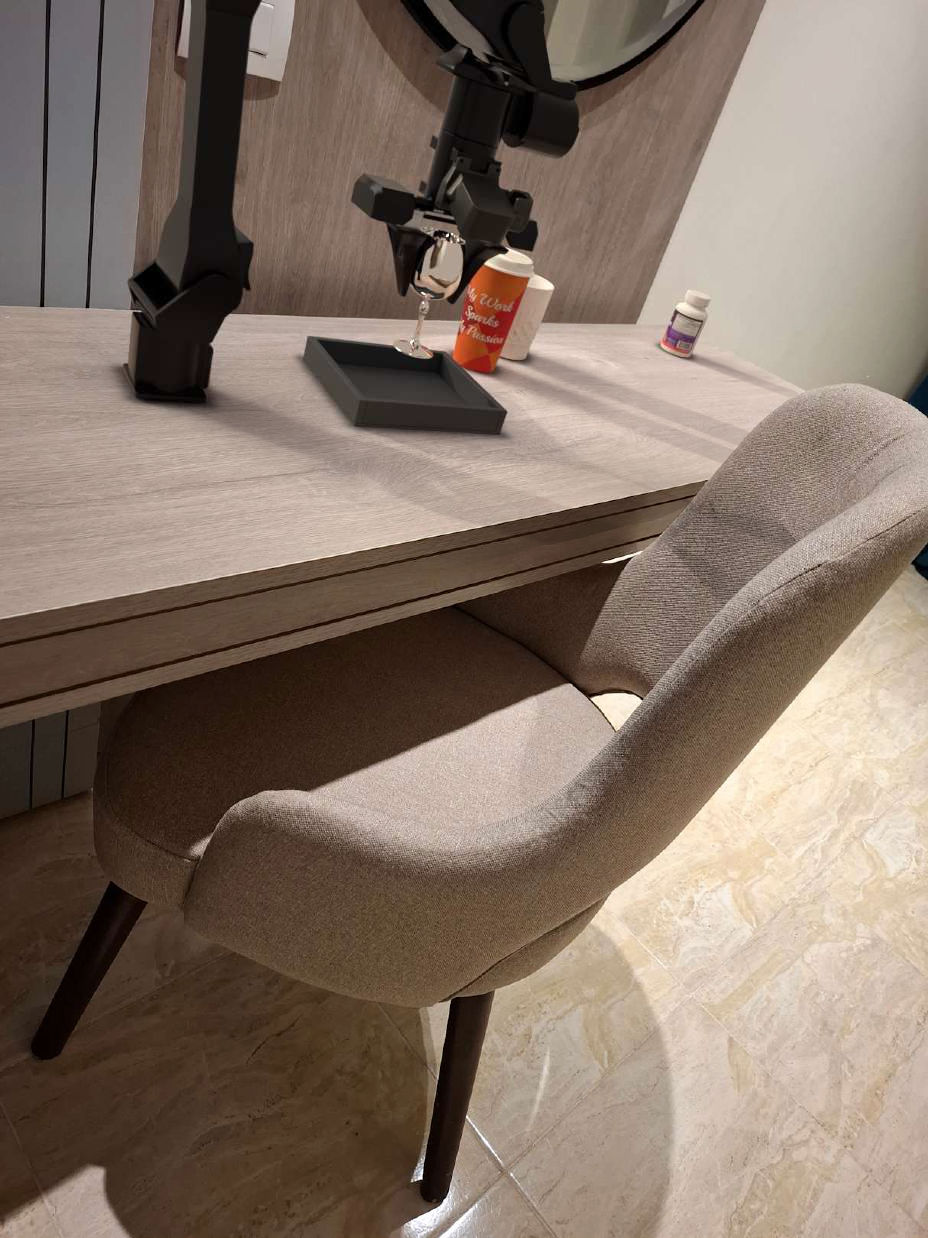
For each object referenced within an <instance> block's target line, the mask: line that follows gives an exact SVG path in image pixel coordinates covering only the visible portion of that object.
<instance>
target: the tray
mask: <svg viewBox="0 0 928 1238" xmlns="http://www.w3.org/2000/svg"><path fill="white" fill-rule="evenodd" d="M430 350H431V351H432V353H433V357H432V358H429V359H422V358H416V357H412V356H409V355H406V354H404V353H402V352H400V351H398V350H397V349H396V348H395V347H394V346H393V344H385V343H375V342H368V341H367V342H366V341H358V340H351V339H350V340H349V339H340V338H333V337H323V336H313V335H307V337H306V342H305V347H304V352H303V357H302V361H303V362H304V363H305V365H306V366H307V367H308V368H309V369H310V371H311V373H313V374H314V376H315V378H316V379H317V380H318V381H319V382H320V384H321V385H322V386H323V388H324V389H325V390H326V391H327V393H328V394H329V396H330V397H331V398H332V400H333V401H334V402H335V403H336V404H337V406H338V407H339V408H340V410H341V411H342V412H343V413H344V414H345V416H346V417H347V419H348V420H349V421H350V422H351V424H352V425H353V426H354V427H369V428H370V427H372V428H384V429H385V428H387V429H389V428H390V429H402V430H403V429H404V430H418V431H419V430H420V431H434V432H435V431H436V432H453V433H467V434H468V433H470V434H485V435H501V433H502V429H503V427H504V424H505V421H506V417H507V415H508V410H507V409H506V408H505V407H504V406H503V405H502V404H501V403H500V402H499V401H497V399H496V398H495V397H494V396H492V394H491V393H489V392H488V390H486V388H484V387H483V385H481V384H480V383H479V382H478V381H477V380H476V379H475V378H474V377H473V376H472V375H471V374H470V373H469V372H467V370H465V368H464V367H463V366H461V365H459V364H458V363H457V362H456V361H455V360H454V359H453V356H451V355H450V354H449V353H448V352H447V351H445V350H437V349H430Z"/></svg>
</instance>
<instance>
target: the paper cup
mask: <svg viewBox="0 0 928 1238" xmlns="http://www.w3.org/2000/svg"><path fill="white" fill-rule="evenodd" d="M506 248H507V249H508V250H509V252H508V253H507V254H505V255H504V254H499V255H497V256H495V257H493V258H491V259H489V260H488V261H486V262H485V264H484V265H483V266H482V267H481V268H480V269H479V270H478V272H477V273H476V274H475V276H474V277H473V278H472V280H471V281H470V283H469V284H468V285H467V291H466V295H465V298H464V304H463V308H462V312H461V318H460V322H459V325H458V331H457V334H456V339H455V344H454V348H453V352H452V358H453V359H454V360H455V361H456V362H457V363H458V364H459V365H460V366H461V367H462V368H464V369H467V370H469V371H473V372H477V373H482V374H489V373H492V372H494V370H495V368H496V366H497V363H498V361H499V359H500V354H501V351H502V349H503V346H504V344H505V341H506V339H507V336H508V333H509V331H510V328H511V326H512V323H513V321H514V318H515V315H516V313H517V310H518V308H519V305H520V302H521V300H522V297H523V295H524V292H525V289H526V287H527V284H528V282H529V279H530V277H534V276H535V275H536V273H535V272H534V269H535V266H534V265H533V264H534V261H533V259H531V258H530V257H529V256H527V255H525V254H524V253H521V252H519V251H517V250H514V249H513V248H509V247H506Z"/></svg>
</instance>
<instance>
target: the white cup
mask: <svg viewBox="0 0 928 1238" xmlns="http://www.w3.org/2000/svg"><path fill="white" fill-rule="evenodd" d="M554 291H555V286H554V284H553V283H552V282H551V281H549V280H547V279H546V278H544V277H542V276H540V275H538V274H535V276H534V277H530V279H529V282H528V284H527V287H526V289H525V292H524V295H523V297H522V300H521V302H520V305H519V308H518V310H517V313H516V315H515V318H514V321H513V323H512V326H511V328H510V331H509V333H508V336H507V339H506V341H505V344H504V346H503V349H502V351H501V354H500V356H499V358H504V359H508V360H512V361H522V360H523V361H524V360H526V358H527V356H528V353H529V352H530V349H531V346H532V344H533V341H535V339H536V336H537V334H538V331H539V329H540V326H541V323H542V321H543V319H544V316H545V314H546V311H547V309H548V306H549V303H550V301H551V299H552V296H553V293H554Z"/></svg>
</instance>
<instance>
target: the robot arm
mask: <svg viewBox="0 0 928 1238" xmlns="http://www.w3.org/2000/svg"><path fill="white" fill-rule="evenodd" d="M262 2H263V0H190V15H189V16H190V19H189V33H188V47H187V59H186V60H187V62H186V77H185V90H184V91H185V93H184V106H183V107H184V108H183V121H182V123H183V124H182V135H181V136H182V137H181V151H180V166H179V179H178V180H179V182H178V194H177V197H176V200H175V202H174V204H173V206H172V208H171V210H170V211H169V213H168V216H167V218H166V220H165V222H164V224H163V228H162V231H161V235H160V241H159V245H158V248H157V253H156V257H155V258H154V259H152V260H151V261H150V262H149V263H147V264H146V265H144V266H143V267H142V268H140V269H139V270H138V271H137V272H135V273H134V274H133V275H132V276H130V278H128V279H127V287H128V291H129V293H130V297H131V301H132V302H133V304H135V305H136V306H137V308H138V309H139V310H140V311H135V310H133V311H132V313H131V321H130V322H131V323H130V334H129V335H130V336H129V347H128V357H127V358H128V359H127V360H128V361H127V362H124V363H123V364H122V371H123V373H124V375H125V378H126V380H127V382H128V384H129V386H130V388H131V391H132V393H133V395H134V396H135V398H138V399H144V400H145V399H146V400H147V399H148V400H161V401H175V402H191V403H207V402H208V399H209V398H208V395H207V393H206V391H205V390H207V389H208V388H209V386H210V379H211V372H212V364H213V359H214V358H213V357H214V351H215V349H214V347H213V346H212V343H213V342H214V340H215V338H216V336H217V334H218V333H219V330H220V328H221V327H222V325H223V323H224V321H225V319H226V318H227V317H228V316H229V315H231V313H233V312H234V311H237V310H238V308H239V306H240V305H241V302H242V300H243V296H244V290H245V291H247V292H250V291H251V290H252V287H251V283H250V277H249V276H250V267H251V264H252V260H253V257H254V256H253V255H254V248H255V247H254V246H255V244H254V242H253V241H252V240H251V239H250V238H249V237H248V236H247V235H245V233H244V232H243V231H241V230H240V229H239V228H238V227H237V226H236V225H235V224H236V223H235V218H234V202H235V191H236V183H237V181H236V180H237V172H238V163H239V152H240V142H241V133H242V132H241V131H242V122H243V112H244V103H245V94H246V84H247V75H248V63H249V53H250V43H251V33H252V26H253V21H254V18H255V16H256V14H257V11H258V9H259V8H260V6H261V4H262ZM434 2H435V3H436V4H437V5H438V6H439V8H440V10H441V12H442V14H443V15H444V17H445V20H447V22H448V24H450V26H451V27H452V28H453V29H454V31H456V33H458V35H459V36H460V37H461V38H462V39H463V41H465V43H466V44H467V45H468V46H467V45H464V44H462V43H457V44H456V45H455V46H453V48H452V49H451V50H450V51H448V52H446V53H443V54H442V55H440V56H438V57H437V58H435V60H434V65H435V67H436V68H438V69H440V70H442V71H444V72H446V73H449V74H450V75H453V79H452V83H451V86H450V91H449V95H448V98H447V103H446V106H445V110H444V114H443V118H442V122H441V126H440V130H439V134H438V136H437V135H434V134H432V135H431V138H430V143H429V147H430V148H432V149H433V150H434V154H433V157H432V161H431V165H430V169H429V173H428V176H427V177H428V178H427V180H424V179H423V180H422V179H420V183H419V187H418V192H419V193H421V194H422V196H421V195H418V194H415V193H413V192H412V191H411V190H409V189H408V188H406V187H405V186H404V185H402V184H401V183H400V182H398V181H397V180H395V179H391V178H389V177H388V178H387V177H382V176H378V175H374V174H370V173H365V172H363V173H362V175H360V176H359V177H358V179H356V181H355V182H354V185H353V188H352V193H351V198H350V202H351V203H352V204H354V205H355V206H356V207H358V209H360V210H361V211H362V212H363V213H364V214H366V215H367V216H368V217H369V218H370V219H373V220H375V221H378V222H382V223H385V225H386V228H387V233H388V237H389V241H390V245H391V251H392V256H393V257H392V258H393V265H394V273H395V279H396V288H397V293H398V295H399V296H400V297H402V298H406V296H407V294H408V291H409V288H410V282H411V278H412V273H413V269H414V264H415V260H416V255H417V251H418V247H419V246H420V244H421V243H422V242H423V241H424V239H425V238H426V237H427V234H425V233H424V232H423V231H422V230H421V228H422V223H423V221H424V220H423V219H425V220H430V221H434V222H440V223H444V224H449V225H454V226H456V229H457V231H458V234H459V235H458V237H460V238H462V239H463V240H465V242H466V248H465V263H464V270H463V275H462V279H461V282H460V284H459V286H458V288H457V290H456V291H455V293H454V294H453V295H451V296H450V297H448V298H446V301H447V302H446V303H448V304H449V305H455V304H456V302H457V301H458V300H459V298H460V297H461V295H462V294H463V293H464V291H465V290H466V288H468V285H469V283H470V281H471V280H472V278H473V277H474V276H475V274H476V273H477V272H478V270H479V269H480V268H481V267H482V266H483V265H484V264H485V262H486V261H488V260H489V259H491V258H493V257H495V256H497V255H499V254H504V255H505V254H507V253H508V252H509V250H508V249H507V248H508V247H506V246H504V242H505V240H506V242H507V244H508V246H509V247H510V248H511V249H517V250H521V251H527V252H531V253H533V252H534V251H535V249H536V245H537V243H538V241H539V237H540V231H539V225H538V221H536V220H535V219H534V218H532V217H531V213H532V210H533V206H534V202H535V201H534V199H533V197H532V196H531V194H530V192H527V191H523V190H519V189H515V188H514V189H511V190H509V189H505V188H502V187H501V186H500V176H501V173H502V165H503V162H502V161H501V160H499V159H497V155H498V152H499V147H500V144H501V142H503V143H504V144H505V145H506V147H508V148H511V149H515V150H517V151H518V150H519V151H522V152H527V153H530V154H533V155H538V156H542V157H545V158H549V159H555V160H558V159H561V158H563V157H565V156H566V155H567V154H568V153H569V152H570V151H571V150H572V148H573V147H574V145H575V144H576V141H577V139H578V136H579V133H580V126H579V125H580V111H579V105H578V103H577V101H576V97H577V93H578V89H579V86H578V84H576V83H574V82H572V81H569V80H567V79H564V78H560V77H553V76H552V69H551V65H550V58H549V53H548V48H547V41H546V36H545V30H544V29H545V23H546V19H545V18H546V16H545V12H546V5H545V3H544V0H434ZM472 48H473V49H475V50H478V51H479V52H481V54H482V56H483V57H484V59H485V61H483V60H480V59H477V58H475V57H476V56H475V55H474V52H473V49H472ZM503 73H505V74H508V75H509V79H508V81H505V77H504V74H503ZM501 140H502V141H501Z"/></svg>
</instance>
